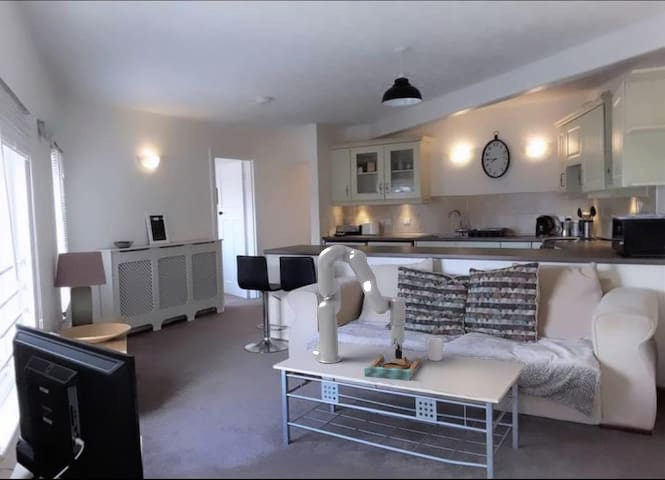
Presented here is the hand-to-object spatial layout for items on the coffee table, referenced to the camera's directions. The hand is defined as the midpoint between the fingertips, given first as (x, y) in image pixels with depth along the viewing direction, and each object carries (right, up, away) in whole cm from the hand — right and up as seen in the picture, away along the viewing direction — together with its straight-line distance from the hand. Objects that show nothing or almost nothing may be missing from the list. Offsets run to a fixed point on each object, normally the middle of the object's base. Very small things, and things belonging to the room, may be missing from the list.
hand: (398, 358), depth 246 cm
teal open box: (-4, -3, -10) cm, 11 cm away
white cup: (+19, -2, +5) cm, 20 cm away
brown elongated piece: (-1, -4, -8) cm, 9 cm away
